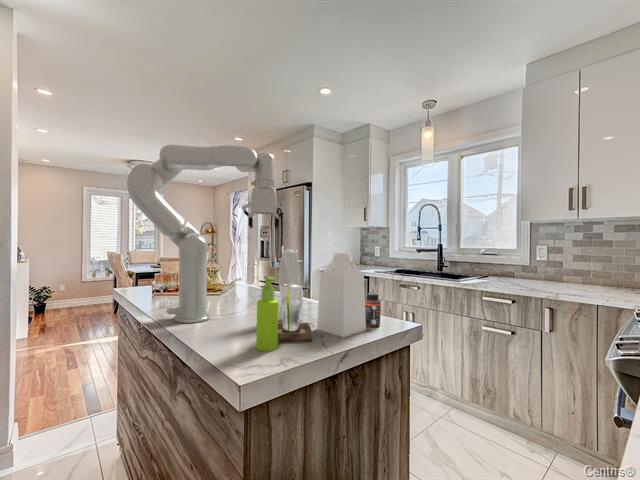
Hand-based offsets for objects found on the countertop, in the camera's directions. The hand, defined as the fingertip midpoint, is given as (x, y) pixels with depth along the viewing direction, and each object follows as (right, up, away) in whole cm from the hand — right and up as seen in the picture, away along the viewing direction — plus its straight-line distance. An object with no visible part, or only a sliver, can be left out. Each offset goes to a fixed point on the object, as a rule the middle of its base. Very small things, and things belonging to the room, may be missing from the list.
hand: (263, 228), depth 126 cm
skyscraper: (+10, -35, -9) cm, 37 cm away
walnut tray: (+13, -35, -26) cm, 46 cm away
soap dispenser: (+8, -35, -38) cm, 52 cm away
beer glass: (+13, -34, -26) cm, 45 cm away
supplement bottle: (+41, -35, -12) cm, 55 cm away
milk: (+30, -35, -19) cm, 50 cm away
